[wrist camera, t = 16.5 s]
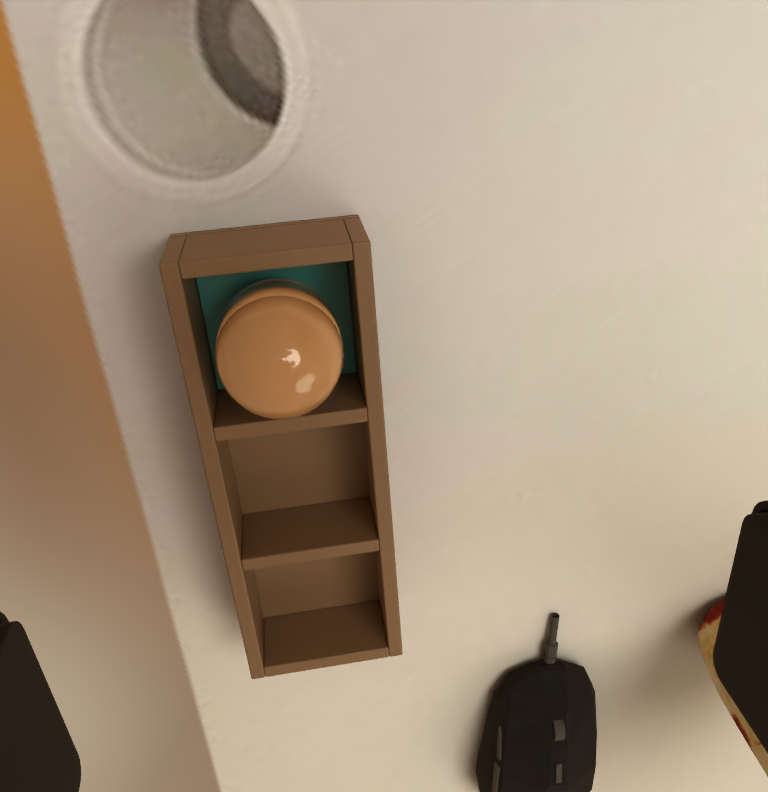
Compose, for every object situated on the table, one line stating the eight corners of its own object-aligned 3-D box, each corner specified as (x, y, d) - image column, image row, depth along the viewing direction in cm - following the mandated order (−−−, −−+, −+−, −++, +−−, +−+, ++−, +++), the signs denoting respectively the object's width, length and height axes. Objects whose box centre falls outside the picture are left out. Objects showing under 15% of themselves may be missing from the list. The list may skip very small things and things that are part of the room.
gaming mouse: (612, 607, 38) (647, 668, 34) (568, 787, 45) (594, 853, 41) (495, 617, 37) (518, 680, 34) (468, 799, 44) (486, 868, 40)
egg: (198, 294, 26) (183, 359, 21) (301, 241, 26) (310, 296, 21) (256, 384, 28) (255, 463, 23) (353, 337, 28) (372, 407, 23)
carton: (252, 622, 35) (251, 679, 32) (170, 234, 26) (158, 263, 23) (391, 600, 35) (402, 655, 33) (358, 214, 26) (370, 240, 23)
